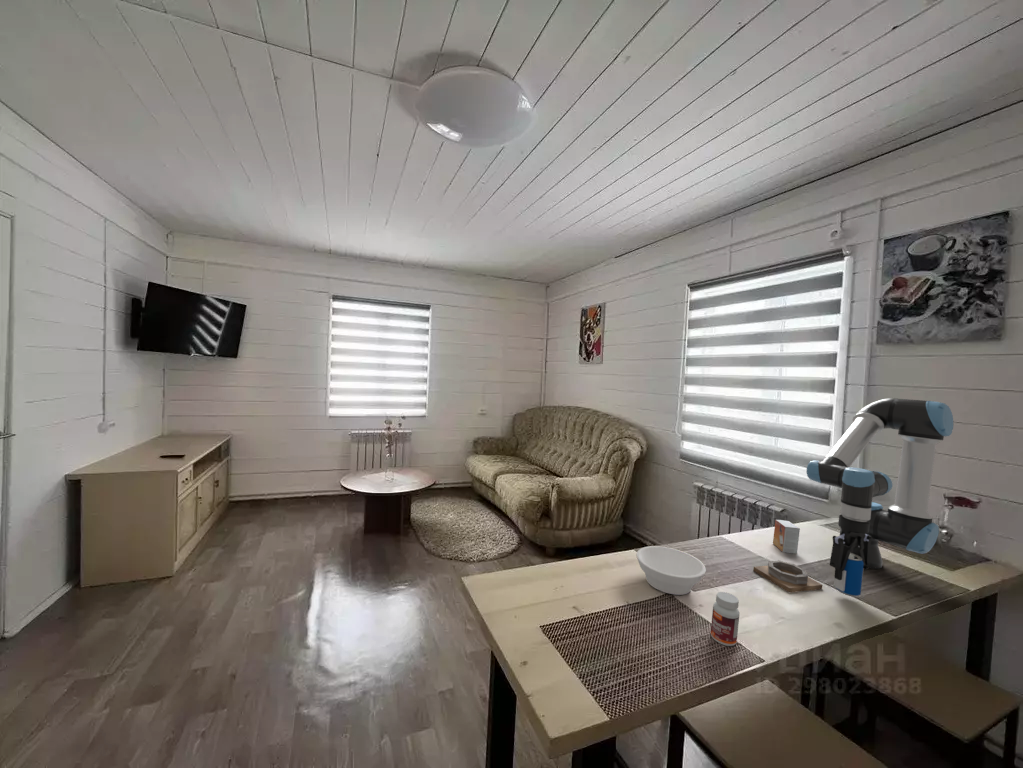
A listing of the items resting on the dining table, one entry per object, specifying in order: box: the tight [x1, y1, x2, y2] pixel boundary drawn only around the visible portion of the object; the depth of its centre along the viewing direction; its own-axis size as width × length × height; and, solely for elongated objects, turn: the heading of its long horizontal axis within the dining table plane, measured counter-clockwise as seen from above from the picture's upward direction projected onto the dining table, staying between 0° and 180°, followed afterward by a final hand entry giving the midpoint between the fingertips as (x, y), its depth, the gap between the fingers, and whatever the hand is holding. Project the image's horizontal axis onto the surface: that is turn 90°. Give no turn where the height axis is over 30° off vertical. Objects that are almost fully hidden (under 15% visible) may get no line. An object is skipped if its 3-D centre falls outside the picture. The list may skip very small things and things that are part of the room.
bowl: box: [636, 545, 707, 596], centre depth 132 cm, size 21×21×8 cm
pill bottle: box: [710, 591, 740, 647], centre depth 106 cm, size 6×6×11 cm
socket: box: [753, 559, 823, 593], centre depth 141 cm, size 14×14×4 cm
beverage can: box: [834, 553, 864, 598], centre depth 130 cm, size 6×6×12 cm
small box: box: [772, 519, 801, 555], centre depth 167 cm, size 8×6×10 cm
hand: (847, 587), depth 131 cm, fingers closed on beverage can, 6 cm apart
